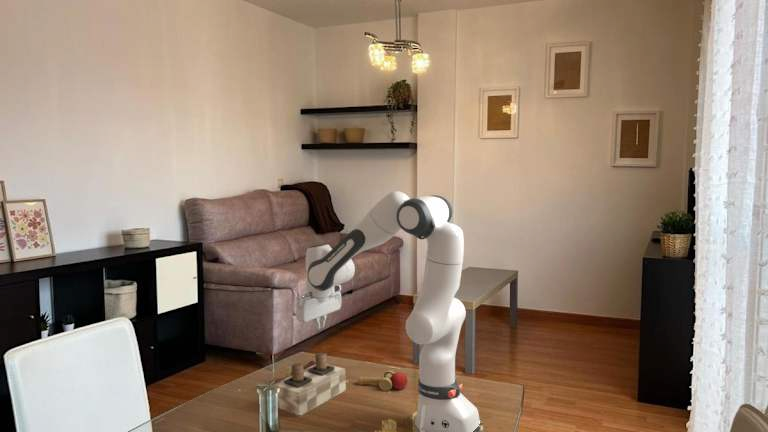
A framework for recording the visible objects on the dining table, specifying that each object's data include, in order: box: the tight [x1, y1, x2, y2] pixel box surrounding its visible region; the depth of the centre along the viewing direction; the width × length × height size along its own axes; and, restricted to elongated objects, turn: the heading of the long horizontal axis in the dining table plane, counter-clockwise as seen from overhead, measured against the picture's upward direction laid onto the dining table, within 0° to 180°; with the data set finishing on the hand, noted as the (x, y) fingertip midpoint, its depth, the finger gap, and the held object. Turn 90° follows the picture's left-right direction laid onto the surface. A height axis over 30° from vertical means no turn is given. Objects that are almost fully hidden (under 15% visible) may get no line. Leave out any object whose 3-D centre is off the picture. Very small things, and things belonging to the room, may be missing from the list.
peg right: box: [314, 352, 328, 371], centre depth 204 cm, size 4×4×8 cm
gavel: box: [284, 360, 316, 379], centre depth 223 cm, size 21×5×10 cm
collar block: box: [272, 363, 347, 416], centre depth 199 cm, size 12×24×9 cm, turn 145°
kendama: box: [358, 370, 408, 392], centre depth 208 cm, size 8×6×18 cm
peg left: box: [291, 362, 305, 383], centre depth 194 cm, size 4×4×8 cm
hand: (319, 327), depth 202 cm, fingers closed
